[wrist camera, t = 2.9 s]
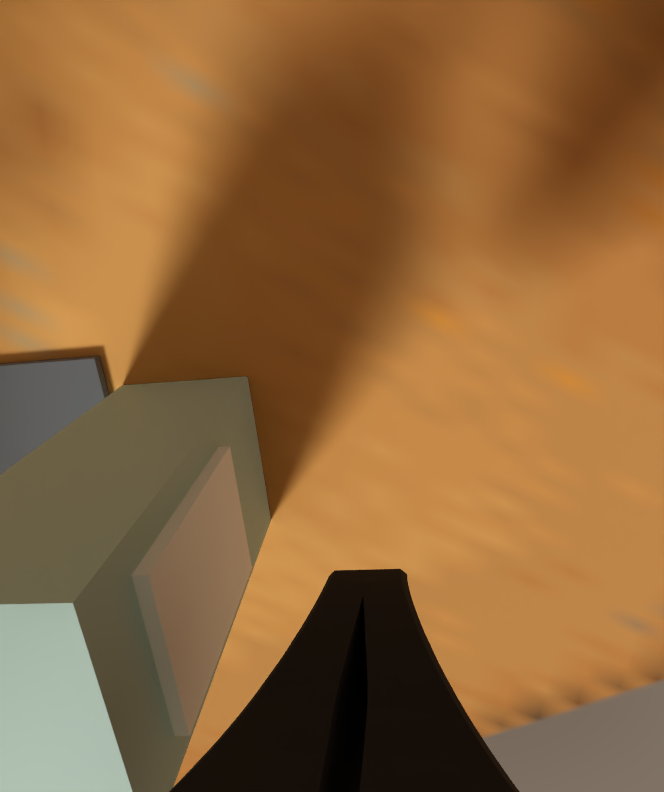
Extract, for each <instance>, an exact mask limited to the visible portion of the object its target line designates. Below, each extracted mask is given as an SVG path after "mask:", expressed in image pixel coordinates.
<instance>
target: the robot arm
mask: <svg viewBox="0 0 664 792" xmlns="http://www.w3.org/2000/svg"><path fill="white" fill-rule="evenodd" d="M169 792H519V791H518V789H517V788H516V787H515V785H514V784H513V783H512V781H511V780H510V778H509V777H508V775H507V774H506V773H505V771H504V770H503V768H502V767H501V765H500V764H499V762H498V761H497V760H496V758H495V757H494V755H493V754H492V752H491V751H490V749H489V748H488V746H487V745H486V743H485V742H484V740H483V739H482V737H481V736H480V734H479V732H478V731H477V729H476V728H475V726H474V725H473V723H472V721H471V720H470V718H469V717H468V715H467V713H466V712H465V710H464V708H463V706H462V705H461V703H460V701H459V700H458V698H457V696H456V694H455V692H454V691H453V689H452V687H451V685H450V683H449V682H448V680H447V678H446V676H445V674H444V672H443V670H442V668H441V666H440V664H439V663H438V661H437V659H436V656H435V654H434V652H433V650H432V648H431V646H430V643H429V641H428V639H427V637H426V635H425V633H424V630H423V628H422V626H421V623H420V621H419V618H418V615H417V613H416V610H415V607H414V604H413V601H412V598H411V595H410V591H409V586H408V581H407V574H406V573H405V572H403V571H402V570H401V569H380V570H341V571H334V572H333V573H332V574H331V575H330V576H329V578H328V580H327V582H326V584H325V586H324V588H323V590H322V592H321V594H320V596H319V598H318V599H317V601H316V603H315V605H314V607H313V608H312V610H311V612H310V614H309V615H308V617H307V619H306V620H305V622H304V624H303V625H302V627H301V629H300V630H299V632H298V633H297V635H296V636H295V638H294V640H293V641H292V643H291V644H290V646H289V648H288V649H287V651H286V652H285V654H284V655H283V657H282V658H281V660H280V661H279V662H278V664H277V665H276V667H275V668H274V669H273V671H272V672H271V674H270V675H269V676H268V678H267V679H266V681H265V682H264V683H263V685H262V686H261V687H260V689H259V690H258V692H257V693H256V694H255V696H254V697H253V698H252V700H251V701H250V702H249V703H248V705H247V706H246V707H245V708H244V710H243V711H242V712H241V713H240V715H239V716H238V717H237V718H236V720H235V721H234V722H233V723H232V724H231V725H230V727H229V728H228V729H227V730H226V731H225V732H224V734H223V735H222V736H221V737H220V738H219V739H218V741H217V742H216V743H215V744H214V745H213V746H212V747H211V748H210V749H209V751H208V752H207V753H206V754H205V755H204V756H203V757H202V758H201V759H200V760H199V761H198V762H197V763H196V764H195V765H194V767H193V768H192V769H191V770H190V771H189V772H188V773H187V774H186V775H185V776H184V777H183V778H182V779H181V780H180V781H179V782H178V783H177V784H176V785H175V786H174V787H173V788H172V789H171V790H170V791H169Z"/></svg>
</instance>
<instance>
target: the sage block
mask: <svg viewBox="0 0 664 792" xmlns="http://www.w3.org/2000/svg"><path fill="white" fill-rule="evenodd" d="M270 521H271V516H270V510H269V504H268V498H267V492H266V486H265V480H264V474H263V467H262V461H261V455H260V449H259V443H258V437H257V431H256V425H255V419H254V412H253V406H252V400H251V394H250V388H249V382H248V376H243V377H229V378H216V379H202V380H188V381H174V382H160V383H146V384H133V385H122V386H121V387H119V388H118V389H117V390H115V391H114V392H113V393H111V394H110V395H109V396H107V397H106V398H104V399H103V400H102V401H100V402H99V403H98V404H96V405H95V406H93V407H92V408H91V409H89V410H88V411H87V412H85V413H84V414H83V415H81V416H80V417H78V418H77V419H76V420H74V421H73V422H72V423H70V424H69V425H68V426H66V427H65V428H63V429H62V430H61V431H59V432H58V433H57V434H55V435H54V436H52V437H51V438H50V439H48V440H47V441H46V442H44V443H43V444H42V445H40V446H39V447H37V448H36V449H35V450H33V451H32V452H31V453H29V454H28V455H26V456H25V457H24V458H22V459H21V460H20V461H18V462H17V463H16V464H14V465H13V466H11V467H10V468H9V469H7V470H6V471H5V472H3V473H2V474H0V792H169V791H170V790H171V789H172V788H173V786H174V783H175V780H176V777H177V775H178V772H179V769H180V767H181V764H182V761H183V758H184V756H185V753H186V750H187V747H188V745H189V742H190V739H191V737H192V734H193V731H194V728H195V726H196V723H197V720H198V717H199V715H200V712H201V709H202V707H203V704H204V701H205V698H206V696H207V693H208V690H209V687H210V685H211V682H212V679H213V677H214V674H215V671H216V668H217V666H218V663H219V660H220V657H221V655H222V652H223V649H224V647H225V644H226V641H227V638H228V636H229V633H230V630H231V627H232V625H233V622H234V619H235V617H236V614H237V611H238V608H239V606H240V603H241V600H242V597H243V595H244V592H245V589H246V587H247V584H248V581H249V578H250V576H251V573H252V570H253V567H254V565H255V562H256V559H257V557H258V554H259V551H260V548H261V546H262V543H263V540H264V537H265V535H266V532H267V529H268V527H269V524H270Z"/></svg>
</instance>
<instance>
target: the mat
mask: <svg viewBox="0 0 664 792" xmlns="http://www.w3.org/2000/svg"><path fill="white" fill-rule="evenodd" d="M107 396H109V393H108V389H107V385H106V381H105V377H104V373H103V369H102V365H101V361H100V357H99V356H91V357H78V358H65V359H53V360H40V361H28V362H15V363H3V364H0V474H2V473H3V472H5V471H6V470H7V469H9V468H10V467H11V466H13V465H14V464H16V463H17V462H18V461H20V460H21V459H22V458H24V457H25V456H26V455H28V454H29V453H31V452H32V451H33V450H35V449H36V448H37V447H39V446H40V445H42V444H43V443H44V442H46V441H47V440H48V439H50V438H51V437H52V436H54V435H55V434H57V433H58V432H59V431H61V430H62V429H63V428H65V427H66V426H68V425H69V424H70V423H72V422H73V421H74V420H76V419H77V418H78V417H80V416H81V415H83V414H84V413H85V412H87V411H88V410H89V409H91V408H92V407H93V406H95V405H96V404H98V403H99V402H100V401H102V400H103V399H104V398H106V397H107Z"/></svg>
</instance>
